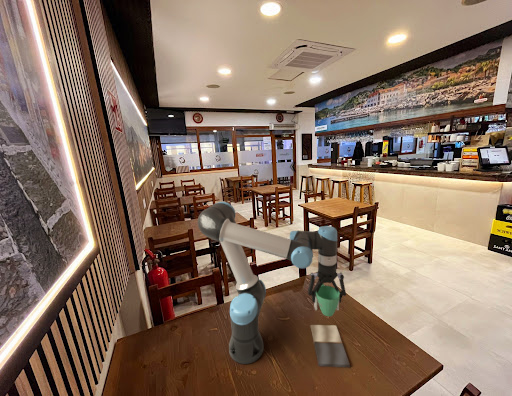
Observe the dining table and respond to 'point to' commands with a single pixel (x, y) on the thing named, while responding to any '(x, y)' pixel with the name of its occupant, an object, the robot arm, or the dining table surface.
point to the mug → (328, 299)
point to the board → (329, 346)
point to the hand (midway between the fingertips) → (326, 308)
